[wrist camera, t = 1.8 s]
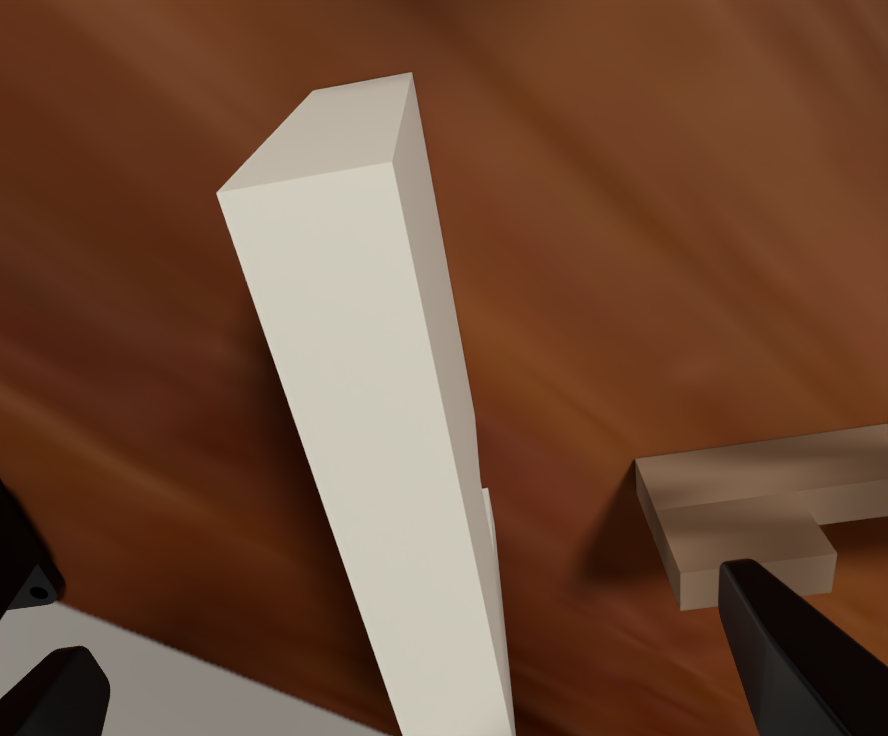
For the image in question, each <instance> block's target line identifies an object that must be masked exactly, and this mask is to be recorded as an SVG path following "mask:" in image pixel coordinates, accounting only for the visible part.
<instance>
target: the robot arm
mask: <svg viewBox="0 0 888 736" xmlns="http://www.w3.org/2000/svg"><path fill="white" fill-rule="evenodd" d="M62 589H63V582H62V580H61V578H60V577H59V575H58V573H57V572H56V570H55V569H54V567H53V566H52V564H51V563H50V561H49V559H48V558H47V556H46V555H45V553H44V552H43V550H42V548H41V547H40V545H39V544H38V542H37V541H36V539H35V538H34V536H33V534H32V533H31V531H30V530H29V528H28V527H27V525H26V524H25V522H24V520H23V519H22V517H21V516H20V514H19V513H18V511H17V510H16V508H15V506H14V505H13V503H12V502H11V500H10V499H9V497H8V495H7V494H6V492H5V491H4V489H3V488H2V486H1V485H0V620H1V618H2V617H3V615H4V614H5V612H6V611H7V610H11V609H19V608H27V607H34V606H42V605H48V604H51V603H53V602H54V601H55V600H56V599H57V597H58V596H59V594H60V592H61V591H62ZM718 608H719V614H720V618H721V621H722V624H723V627H724V630H725V634H726V637H727V640H728V643H729V646H730V649H731V652H732V655H733V658H734V661H735V664H736V667H737V670H738V673H739V676H740V679H741V682H742V685H743V688H744V691H745V694H746V697H747V700H748V703H749V706H750V709H751V712H752V715H753V718H754V721H755V724H756V727H757V729H758V732H759V735H760V736H888V666H886V665H885V664H884V663H883V662H881V661H880V660H879V659H878V658H876V657H875V656H874V655H873V654H871V653H870V652H869V651H868V650H866V649H865V648H864V647H863V646H861V645H860V644H859V643H858V642H856V641H855V640H854V639H853V638H851V637H850V636H849V635H848V634H846V633H845V632H844V631H843V630H842V629H840V628H839V627H838V626H837V625H835V624H834V623H833V622H832V621H830V620H829V619H828V618H827V617H825V616H824V615H823V614H822V613H820V612H819V611H818V610H817V609H815V608H814V607H813V606H812V605H810V604H809V603H808V602H807V601H805V600H804V599H803V598H802V597H800V596H799V595H798V594H797V593H795V592H794V591H793V590H792V589H790V588H789V587H788V586H787V585H786V584H784V583H783V582H782V581H781V580H779V579H778V578H777V577H776V576H774V575H773V574H772V573H771V572H769V571H768V570H767V569H766V568H764V567H763V566H762V565H761V564H759V563H758V562H757V561H755V560H753V559H750V558H744V559H737V560H729V561H724V562H722V563H721V565H720V568H719V589H718ZM109 699H110V684H109V681H108V679H107V677H106V675H105V674H104V672H103V671H102V669H101V668H100V666H99V665H98V663H97V662H96V660H95V658H94V657H93V656H92V654H91V652H90V651H89V650H88V649H87V648H85V647H83V646H74V647H67V648H61V649H57V650H54V651H53V652H51V653H50V654H49V655H48V656H46V657H45V658H44V659H43V660H42V661H41V662H40V663H39V664H38V665H37V666H35V667H34V668H33V669H32V670H31V671H30V672H29V673H28V674H27V675H26V676H25V677H24V678H23V679H22V680H21V681H20V682H18V683H17V684H16V685H15V686H14V687H13V688H12V689H11V690H10V691H9V692H8V693H6V694H5V695H4V696H3V697H2V698H1V699H0V736H101V734H102V730H103V726H104V721H105V716H106V712H107V707H108V703H109Z"/></svg>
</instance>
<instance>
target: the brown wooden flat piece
mask: <svg viewBox="0 0 888 736" xmlns="http://www.w3.org/2000/svg"><path fill="white" fill-rule="evenodd" d="M635 469H636V493H637V496H638V499H639V501H640V504H641V507H642V509H643V512H644V515H645V517H646V520H647V523H648V525H649V528H650V531H651V533H652V536H653V539H654V541H655V544H656V547H657V549H658V552H659V555H660V557H661V560H662V563H663V565H664V568H665V571H666V573H667V576H668V579H669V581H670V584H671V587H672V589H673V592H674V595H675V597H676V600H677V603H678V605H679V608H680V611H683V610H691V609H699V608H707V607H715V606H718V589H719V568H720V565H721V563H722V562H724V561H729V560H737V559H744V558H750V559H753V560H755V561H757V562H758V563H759V564H761V565H762V566H763V567H764V568H766V569H767V570H768V571H769V572H771V573H772V574H773V575H774V576H776V577H777V578H778V579H779V580H781V581H782V582H783V583H784V584H786V585H787V586H788V587H789V588H790V589H792V590H793V591H794V592H795V593H797V594H798V595H799V596H805V595H813V594H821V593H830V592H831V591H832V584H833V578H834V572H835V565H836V559H837V552H836V551H835V549H834V548H833V546H832V545H831V543H830V542H829V540H828V539H827V537H826V536H825V535H824V533H823V532H822V530H821V529H820V527H819V526H818V525H823V524H831V523H838V522H846V521H854V520H861V519H869V518H877V517H884V516H888V424H881V425H874V426H867V427H860V428H853V429H846V430H839V431H831V432H824V433H817V434H810V435H803V436H796V437H789V438H782V439H774V440H767V441H760V442H753V443H746V444H739V445H732V446H724V447H717V448H710V449H703V450H696V451H689V452H682V453H674V454H667V455H660V456H653V457H646V458H639V459H635Z"/></svg>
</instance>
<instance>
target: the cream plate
mask: <svg viewBox="0 0 888 736" xmlns="http://www.w3.org/2000/svg"><path fill="white" fill-rule="evenodd" d="M216 194H217V196H218V199H219V202H220V205H221V208H222V211H223V214H224V217H225V220H226V223H227V226H228V228H229V231H230V234H231V237H232V240H233V243H234V246H235V249H236V252H237V255H238V258H239V260H240V263H241V266H242V269H243V272H244V275H245V278H246V281H247V284H248V287H249V290H250V293H251V295H252V298H253V301H254V304H255V307H256V310H257V313H258V316H259V319H260V322H261V325H262V327H263V330H264V333H265V336H266V339H267V342H268V345H269V348H270V351H271V354H272V357H273V360H274V362H275V365H276V368H277V371H278V374H279V377H280V380H281V383H282V386H283V389H284V392H285V394H286V397H287V400H288V403H289V406H290V409H291V412H292V415H293V418H294V421H295V424H296V426H297V429H298V432H299V435H300V438H301V441H302V444H303V447H304V450H305V453H306V456H307V459H308V461H309V464H310V467H311V470H312V473H313V476H314V479H315V482H316V485H317V488H318V491H319V493H320V496H321V499H322V502H323V505H324V508H325V511H326V514H327V517H328V520H329V523H330V526H331V528H332V531H333V534H334V537H335V540H336V543H337V546H338V549H339V552H340V555H341V558H342V560H343V563H344V566H345V569H346V572H347V575H348V578H349V581H350V584H351V587H352V590H353V592H354V595H355V598H356V601H357V604H358V607H359V610H360V613H361V616H362V619H363V622H364V625H365V627H366V630H367V633H368V636H369V639H370V642H371V645H372V648H373V651H374V654H375V657H376V659H377V662H378V665H379V668H380V671H381V674H382V677H383V680H384V683H385V686H386V689H387V692H388V694H389V697H390V700H391V703H392V706H393V709H394V712H395V715H396V718H397V721H398V724H399V726H400V729H401V732H402V735H403V736H516V732H515V723H514V713H513V703H512V693H511V683H510V673H509V663H508V654H507V644H506V634H505V624H504V614H503V604H502V594H501V585H500V575H499V565H498V555H497V545H496V535H495V525H494V519H493V513H492V508H491V502H490V497H489V491H488V488H485V489H482V487H481V482H480V473H479V461H478V449H477V437H476V425H475V415H474V409H473V404H472V398H471V393H470V387H469V382H468V376H467V371H466V365H465V360H464V354H463V349H462V343H461V338H460V332H459V327H458V321H457V316H456V310H455V305H454V300H453V294H452V289H451V283H450V278H449V272H448V267H447V261H446V256H445V250H444V245H443V239H442V234H441V228H440V223H439V217H438V212H437V206H436V201H435V195H434V190H433V184H432V179H431V173H430V168H429V162H428V157H427V151H426V146H425V140H424V135H423V129H422V124H421V119H420V113H419V108H418V102H417V97H416V91H415V86H414V80H413V75H412V72H410V73H404V74H399V75H394V76H388V77H383V78H378V79H372V80H367V81H362V82H357V83H351V84H346V85H341V86H335V87H330V88H325V89H319V90H314V91H312V92H311V93H310V94H309V95H308V97H307V98H306V99H305V100H304V101H303V102H302V103H301V104H300V105H299V106H298V107H297V108H296V109H295V110H294V111H293V112H292V113H291V115H290V116H289V117H288V118H287V119H286V120H285V121H284V122H283V123H282V124H281V125H280V126H279V127H278V128H277V129H276V130H275V131H274V133H273V134H272V135H271V136H270V137H269V138H268V139H267V140H266V141H265V142H264V143H263V144H262V145H261V146H260V147H259V148H258V149H257V150H256V152H255V153H254V154H253V155H252V156H251V157H250V158H249V159H248V160H247V161H246V162H245V163H244V164H243V165H242V166H241V167H240V168H239V170H238V171H237V172H236V173H235V174H234V175H233V176H232V177H231V178H230V179H229V180H228V181H227V182H226V183H225V184H224V185H223V186H222V188H221V189H220V190H219V191H218V192H217V193H216Z"/></svg>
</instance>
